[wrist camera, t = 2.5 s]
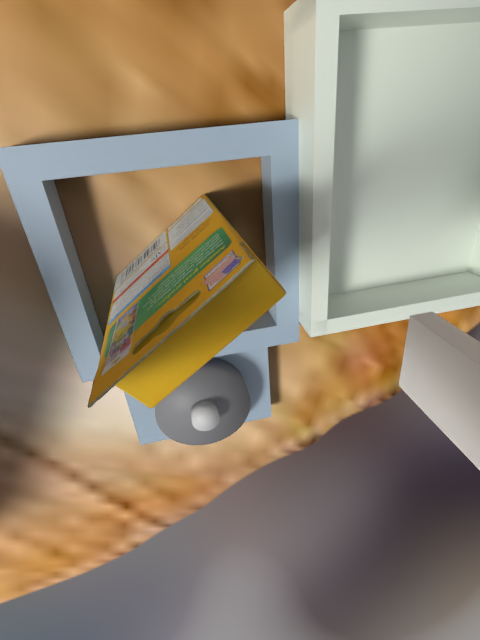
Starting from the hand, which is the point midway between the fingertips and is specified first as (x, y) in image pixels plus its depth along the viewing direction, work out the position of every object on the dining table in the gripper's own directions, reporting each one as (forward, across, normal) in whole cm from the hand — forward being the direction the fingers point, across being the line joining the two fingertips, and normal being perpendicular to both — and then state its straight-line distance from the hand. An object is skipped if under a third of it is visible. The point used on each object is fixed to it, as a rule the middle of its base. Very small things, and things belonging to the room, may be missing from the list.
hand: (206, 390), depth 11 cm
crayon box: (+13, 0, 0) cm, 13 cm away
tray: (+13, +14, +4) cm, 19 cm away
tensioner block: (+13, 0, -3) cm, 13 cm away
